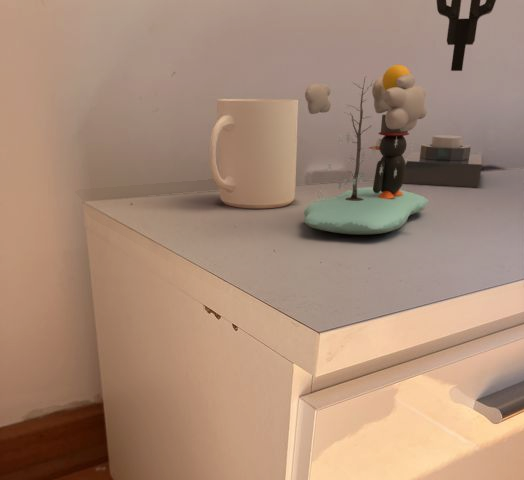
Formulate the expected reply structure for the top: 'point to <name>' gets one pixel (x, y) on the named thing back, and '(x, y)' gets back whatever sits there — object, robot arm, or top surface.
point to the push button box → (443, 166)
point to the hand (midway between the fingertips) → (456, 70)
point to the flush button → (446, 141)
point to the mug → (255, 152)
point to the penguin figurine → (388, 168)
